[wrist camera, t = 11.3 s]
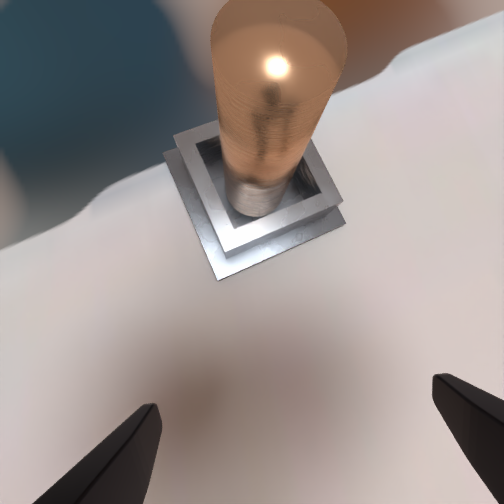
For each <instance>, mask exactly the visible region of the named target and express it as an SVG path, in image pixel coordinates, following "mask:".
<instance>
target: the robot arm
mask: <svg viewBox="0 0 504 504" xmlns="http://www.w3.org/2000/svg"><path fill="white" fill-rule="evenodd" d="M432 397H433V401H434V403H435V405H436V407H437V409H438V411H439V412H440V414H441V416H442V417H443V419H444V421H445V422H446V424H447V426H448V427H449V429H450V431H451V432H452V434H453V436H454V438H455V439H456V441H457V443H458V444H459V446H460V448H461V449H462V451H463V453H464V454H465V456H466V457H467V459H468V460H469V462H470V463H471V465H472V466H473V468H474V469H475V471H476V472H477V474H478V475H479V476H480V478H481V479H482V481H483V482H484V483H485V485H486V486H487V488H488V489H489V491H490V492H491V493H492V495H493V496H494V498H495V499H496V500H497V502H498V503H499V504H504V400H502V399H500V398H498V397H496V396H494V395H492V394H490V393H488V392H486V391H484V390H482V389H479V388H477V387H475V386H473V385H471V384H469V383H467V382H465V381H463V380H461V379H459V378H457V377H455V376H453V375H451V374H448V373H442V374H435V375H434V376H433V380H432ZM161 432H162V420H161V417H160V413H159V410H158V406H157V404H155V403H150V404H144V405H142V406H141V407H140V408H139V409H138V410H136V411H135V412H134V413H133V414H132V415H131V416H130V417H129V418H128V419H126V420H125V421H124V422H123V423H122V424H121V425H120V426H119V427H117V428H116V429H115V430H114V431H113V432H112V433H111V434H110V435H109V436H107V437H106V438H105V439H104V440H103V441H102V442H101V443H100V444H98V445H97V446H96V447H95V448H94V449H93V450H92V451H91V452H90V453H88V454H87V455H86V456H85V457H84V458H83V459H82V460H81V461H79V462H78V463H77V464H76V465H75V466H74V467H73V468H72V469H71V470H69V471H68V472H67V473H66V474H65V475H64V476H63V477H62V478H60V479H59V480H58V481H57V482H56V483H55V484H54V485H53V486H52V487H50V488H49V489H48V490H47V491H46V492H45V493H44V494H43V495H41V496H40V497H39V498H38V499H37V500H36V501H35V502H34V503H33V504H143V502H144V499H145V495H146V492H147V489H148V486H149V482H150V478H151V474H152V470H153V466H154V462H155V458H156V453H157V449H158V445H159V441H160V437H161Z"/></svg>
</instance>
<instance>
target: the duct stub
mask: <svg viewBox="0 0 504 504" xmlns="http://www.w3.org/2000/svg"><path fill="white" fill-rule="evenodd" d="M173 136H174V139H175V142H176V144H177V148H174V149H171V150H169V151H166V152H163V155H164V158H165V160H166V162H167V164H168V167H169V169H170V171H171V174H172V176H173V178H174V181H175V183H176V185H177V188H178V190H179V192H180V194H181V197H182V199H183V201H184V204H185V206H186V208H187V211H188V213H189V215H190V218H191V220H192V222H193V224H194V227H195V229H196V231H197V234H198V236H199V238H200V241H201V243H202V245H203V248H204V250H205V252H206V254H207V257H208V259H209V261H210V264H211V266H212V268H213V271H214V273H215V275H216V278H217V280H218V281H219V280H221V279H224V278H226V277H228V276H230V275H233V274H235V273H237V272H239V271H242V270H244V269H246V268H248V267H251V266H253V265H255V264H257V263H260V262H262V261H264V260H266V259H269V258H271V257H273V256H275V255H277V254H280V253H282V252H284V251H286V250H289V249H291V248H293V247H295V246H298V245H300V244H302V243H304V242H307V241H309V240H311V239H313V238H316V237H318V236H320V235H322V234H325V233H327V232H329V231H331V230H334V229H336V228H338V227H340V226H343V225H344V224H346V222H345V220H344V218H343V216H342V215H341V213H340V211H339V209H338V207H337V206H338V205H339V204H341V203H342V202H343V199H342V197H341V195H340V193H339V191H338V190H337V188H336V186H335V184H334V182H333V180H332V178H331V176H330V174H329V172H328V170H327V168H326V167H325V165H324V163H323V161H322V159H321V157H320V155H319V153H318V151H317V149H316V147H315V145H314V144H313V142H312V140H311V138H310V141H309V143H308V145H307V147H306V149H305V151H304V153H303V155H302V158H301V160H300V162H299V164H298V166H297V168H296V170H295V172H294V174H293V177H292V179H291V181H290V183H289V185H288V187H287V189H286V191H285V194H284V196H283V198H282V200H281V202H280V204H279V205H278V206H277V208H276V209H275V210H273V211H272V212H270V213H269V214H266V215H264V216H258V217H252V216H247V215H244V214H242V213H240V212H238V211H237V210H236V209H235V208H234V207H233V206H232V205H231V204H230V202H229V201H228V198H227V195H226V189H225V179H224V169H223V159H222V150H221V140H220V130H219V120H216V121H212V122H210V123H207V124H204V125H201V126H198V127H195V128H193V129H190V130H187V131H184V132H181V133H178V134H176V135H173Z"/></svg>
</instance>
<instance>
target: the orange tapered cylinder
mask: <svg viewBox="0 0 504 504" xmlns="http://www.w3.org/2000/svg"><path fill="white" fill-rule="evenodd" d="M210 41H211V51H212V61H213V71H214V81H215V90H216V100H217V110H218V120H219V130H220V140H221V150H222V159H223V169H224V179H225V189H226V195H227V198H228V201H229V202H230V204H231V205H232V206H233V207H234V208H235V209H236V210H237V211H238V212H240V213H242V214H244V215H247V216H252V217H258V216H264V215H266V214H269V213H270V212H272V211H273V210H275V209H276V208H277V206H278V205H279V204H280V202H281V200H282V198H283V196H284V194H285V191H286V189H287V187H288V185H289V183H290V181H291V179H292V177H293V174H294V172H295V170H296V168H297V166H298V164H299V162H300V160H301V158H302V155H303V153H304V151H305V149H306V147H307V145H308V143H309V141H310V138H311V136H312V134H313V132H314V130H315V128H316V126H317V124H318V122H319V119H320V117H321V115H322V113H323V111H324V109H325V107H326V105H327V102H328V100H329V98H330V96H331V94H332V92H333V90H334V88H335V85H336V83H337V81H338V79H339V77H340V75H341V73H342V71H343V68H344V66H345V62H346V58H347V41H346V36H345V33H344V30H343V28H342V26H341V24H340V22H339V20H338V19H337V17H336V16H335V15H334V13H333V12H332V11H331V10H330V9H329V8H328V7H327V6H326V5H325V4H324V3H322V2H321V1H320V0H229V1H228V2H227V3H226V4H225V5H224V6H223V7H222V9H221V10H220V11H219V13H218V15H217V16H216V18H215V20H214V23H213V25H212V30H211V40H210Z"/></svg>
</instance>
